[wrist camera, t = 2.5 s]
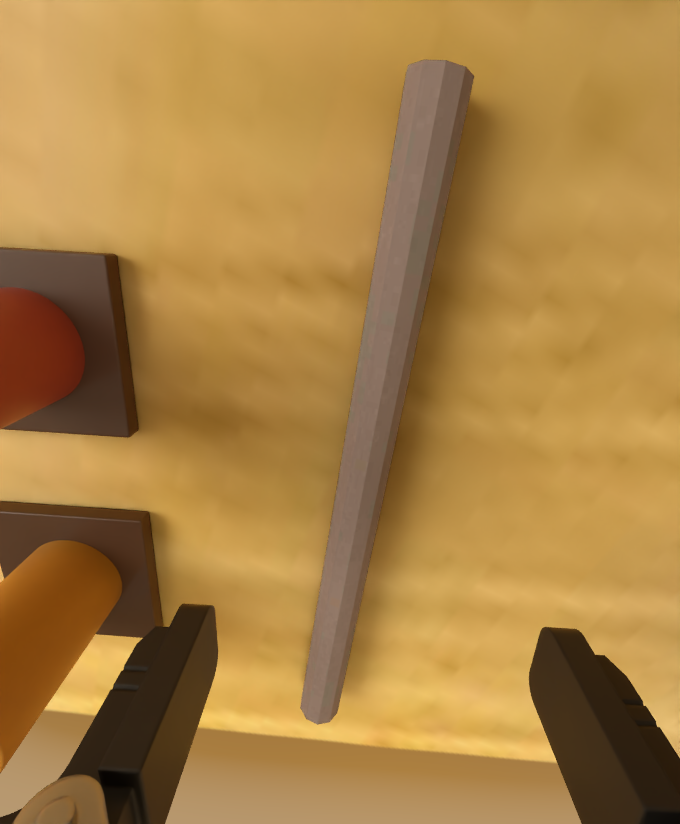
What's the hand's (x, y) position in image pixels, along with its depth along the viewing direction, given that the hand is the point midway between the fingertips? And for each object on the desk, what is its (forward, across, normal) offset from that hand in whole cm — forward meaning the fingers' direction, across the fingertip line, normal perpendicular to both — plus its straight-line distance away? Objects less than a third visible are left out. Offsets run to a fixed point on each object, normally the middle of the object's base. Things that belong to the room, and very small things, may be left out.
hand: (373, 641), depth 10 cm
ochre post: (+8, +13, +6) cm, 17 cm away
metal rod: (+8, 0, 0) cm, 9 cm away
